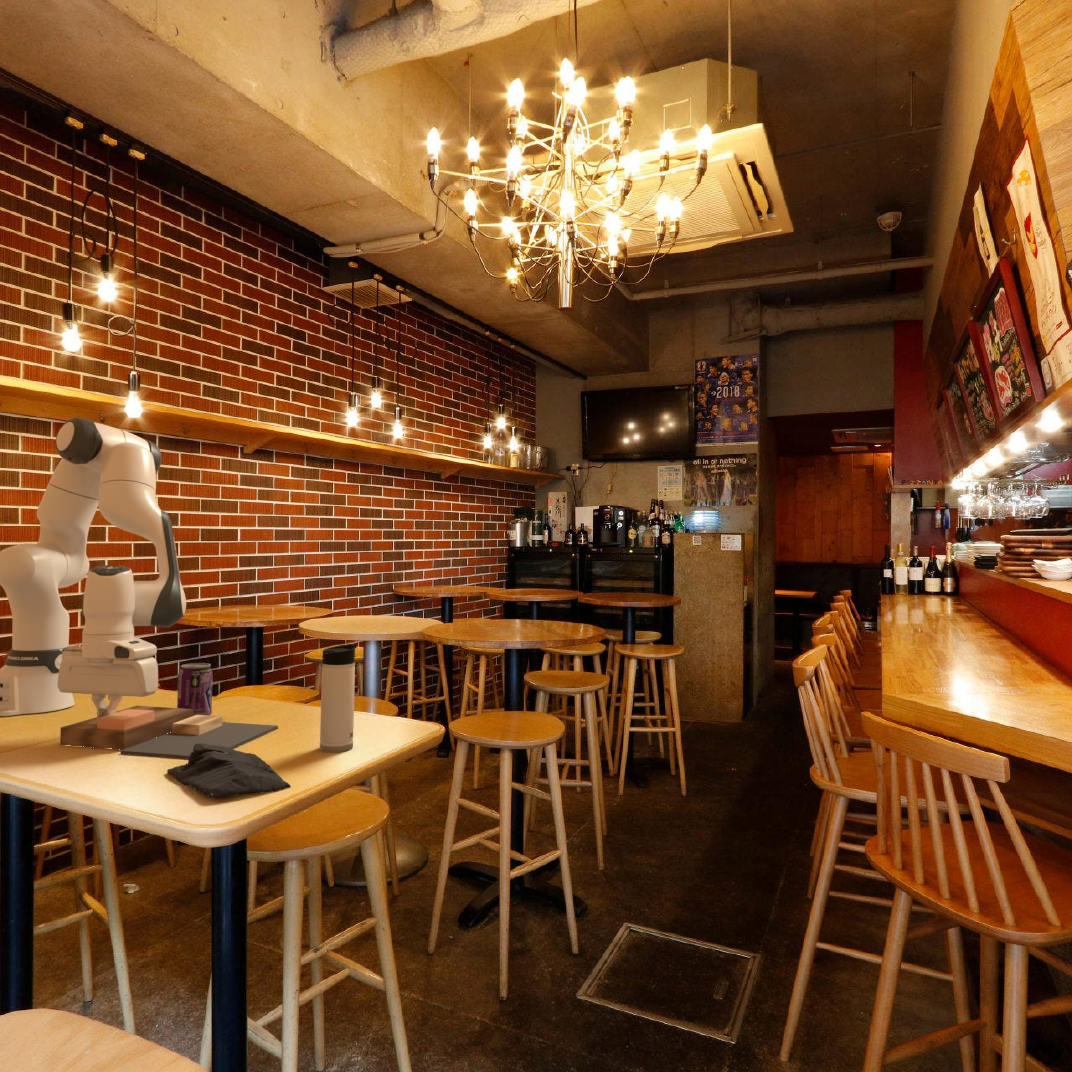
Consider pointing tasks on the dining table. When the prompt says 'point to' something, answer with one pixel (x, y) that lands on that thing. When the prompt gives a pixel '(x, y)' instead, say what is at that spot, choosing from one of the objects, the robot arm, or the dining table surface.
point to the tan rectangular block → (197, 724)
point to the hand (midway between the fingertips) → (106, 716)
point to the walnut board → (123, 739)
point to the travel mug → (337, 698)
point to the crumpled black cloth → (227, 772)
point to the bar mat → (200, 740)
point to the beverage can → (195, 688)
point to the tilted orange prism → (125, 719)
